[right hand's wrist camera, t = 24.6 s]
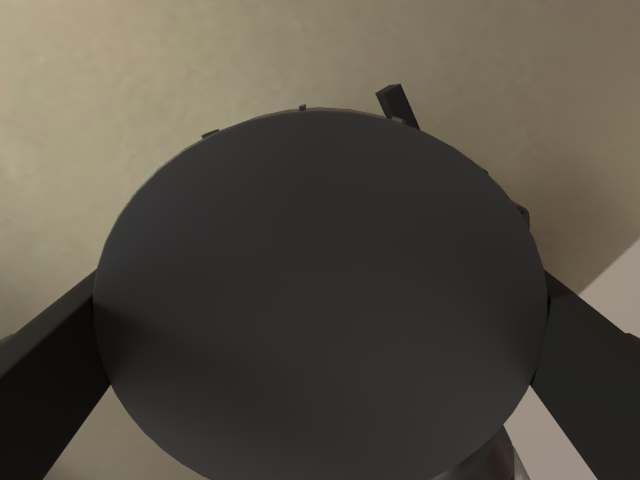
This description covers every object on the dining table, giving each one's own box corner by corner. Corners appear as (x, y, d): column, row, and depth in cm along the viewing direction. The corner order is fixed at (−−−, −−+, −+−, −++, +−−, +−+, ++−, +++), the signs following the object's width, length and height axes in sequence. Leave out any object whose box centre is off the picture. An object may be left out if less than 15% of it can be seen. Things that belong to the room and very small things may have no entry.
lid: (489, 49, 10) (526, 39, 8) (531, 415, 13) (562, 462, 12) (52, 175, 11) (1, 192, 9) (207, 482, 15) (193, 534, 13)
